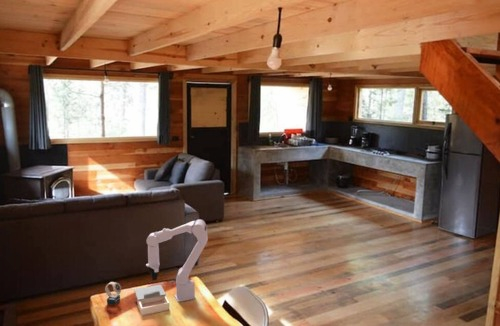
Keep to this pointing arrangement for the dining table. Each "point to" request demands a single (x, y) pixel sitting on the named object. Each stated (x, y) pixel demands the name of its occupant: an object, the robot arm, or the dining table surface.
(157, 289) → the lid
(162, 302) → the box
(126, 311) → the dining table surface
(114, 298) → the watch
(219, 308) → the dining table surface
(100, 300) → the dining table surface
